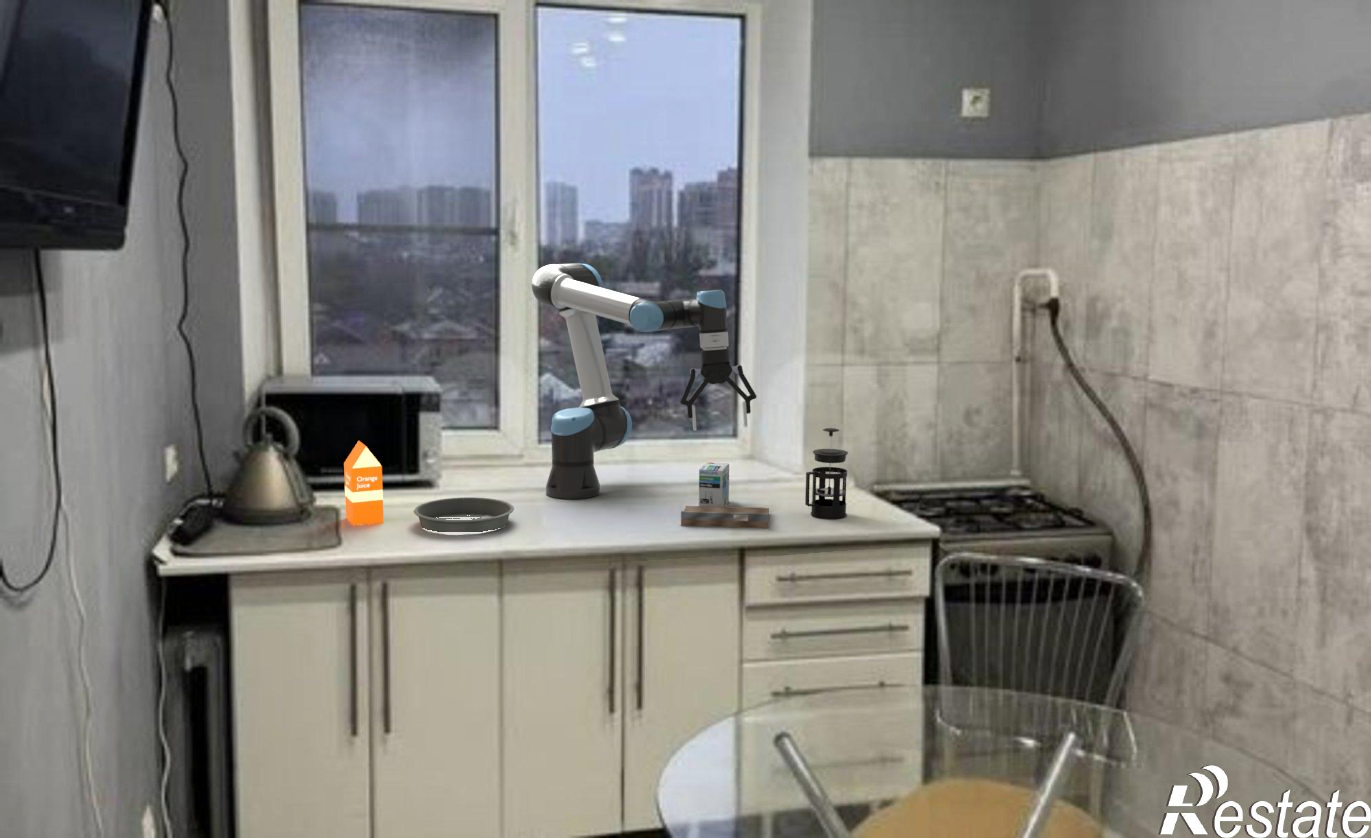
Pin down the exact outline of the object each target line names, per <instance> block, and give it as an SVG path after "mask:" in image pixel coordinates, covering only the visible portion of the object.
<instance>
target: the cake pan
mask: <svg viewBox="0 0 1371 838" xmlns="http://www.w3.org/2000/svg"><path fill="white" fill-rule="evenodd" d="M514 510H515V507H514V506H513V505H512V503H509V502H507V501H504V500H501V499H498V498H497V499H496V498H491V497H490V498H488V497H477V496H475V497H473V496H470V497H469V496H468V497H466V496H464V497H463V496H462V497H461V496H460V497H450V498H441V499H435V500H431V501H427V502H424V503H421V504H419V505H417V506H416V507H415V508H414V509H413V514H414V515H415V516H417V517H418V520H419V525H420V527H422V528H425V529H427V530H432V531H437V532H483V531H488V530H495V529H498V528H502V527H504V526H505V527H506V526H507V525H508V522H509V518H510V514H512V513H513V512H514ZM467 515H468V516H467ZM469 515H470V516H469ZM484 516H489V517H484ZM436 517H437V518H438V519H437V518H436ZM439 517H480V518H477V519H475V518H473V519H472V518H471V519H472V520H446V519H452V518H439ZM482 517H484V518H482ZM453 519H460V518H453ZM505 527H504V528H505ZM422 528H421V529H422ZM502 529H503V528H502Z"/></svg>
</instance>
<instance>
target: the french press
mask: <svg viewBox="0 0 1371 838" xmlns="http://www.w3.org/2000/svg"><path fill="white" fill-rule="evenodd" d="M822 431H823V432H827V433H828V437H829V448H818V449H814V450H813V451H812V453H813V454H814V461H815V462H818V463H823V464H829V465H828V466H820V467H819V466H818V467H815V468H813V469H812V471H806V473H805V497H804V498H805V499H804V500H805V502H804V503H805V506H807V507H811V511H810V516H812V517H813V518H816V519H821V520H831V521H832V520H841V519H842V520H843V519H845V518H847V515H848V514H847V495H846V494H847V477H848V469H846V468H841V467H837V466H834V467H833V466H831V464H840V463H844V462H846V458H847V456H848V454H849V453H848V450H847V451H846V450H844V449H837V448H832V439H833V435H834V433H837V432H839V431H840V429H838V428H836V427H835V428H834V427H828V428H827V427H826V428H823V429H822ZM811 475H812V489H811V490H812V493H811V494H812V497H811V503H810V485H811V484H810V479H811ZM817 478H818V479H819V481H818V488H817ZM841 479H842V489H841ZM826 480H828V487H826ZM831 480H833V487H831ZM817 496H818V499H816V498H817ZM840 497H842V498H840Z"/></svg>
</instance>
